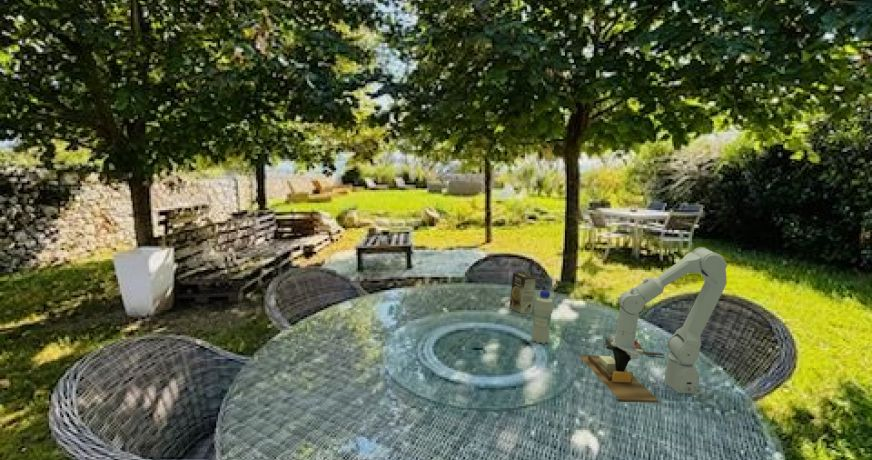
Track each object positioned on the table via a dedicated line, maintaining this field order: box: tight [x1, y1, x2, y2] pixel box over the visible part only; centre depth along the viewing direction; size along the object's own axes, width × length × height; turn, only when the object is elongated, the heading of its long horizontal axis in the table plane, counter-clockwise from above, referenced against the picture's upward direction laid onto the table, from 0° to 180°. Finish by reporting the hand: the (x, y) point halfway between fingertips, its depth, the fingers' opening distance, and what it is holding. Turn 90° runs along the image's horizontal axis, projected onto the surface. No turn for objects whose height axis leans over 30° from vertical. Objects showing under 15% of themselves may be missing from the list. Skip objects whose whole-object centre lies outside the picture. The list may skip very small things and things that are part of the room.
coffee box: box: [509, 271, 537, 314], centre depth 215 cm, size 9×6×16 cm
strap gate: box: [612, 371, 634, 382], centre depth 150 cm, size 1×6×3 cm, turn 96°
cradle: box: [578, 354, 659, 404], centre depth 155 cm, size 30×12×2 cm, turn 6°
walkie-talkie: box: [605, 338, 665, 357], centre depth 179 cm, size 9×4×20 cm
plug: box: [598, 355, 616, 373], centre depth 160 cm, size 6×4×3 cm, turn 6°
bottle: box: [531, 289, 554, 345], centre depth 178 cm, size 7×7×20 cm
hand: (619, 371), depth 154 cm, fingers closed
